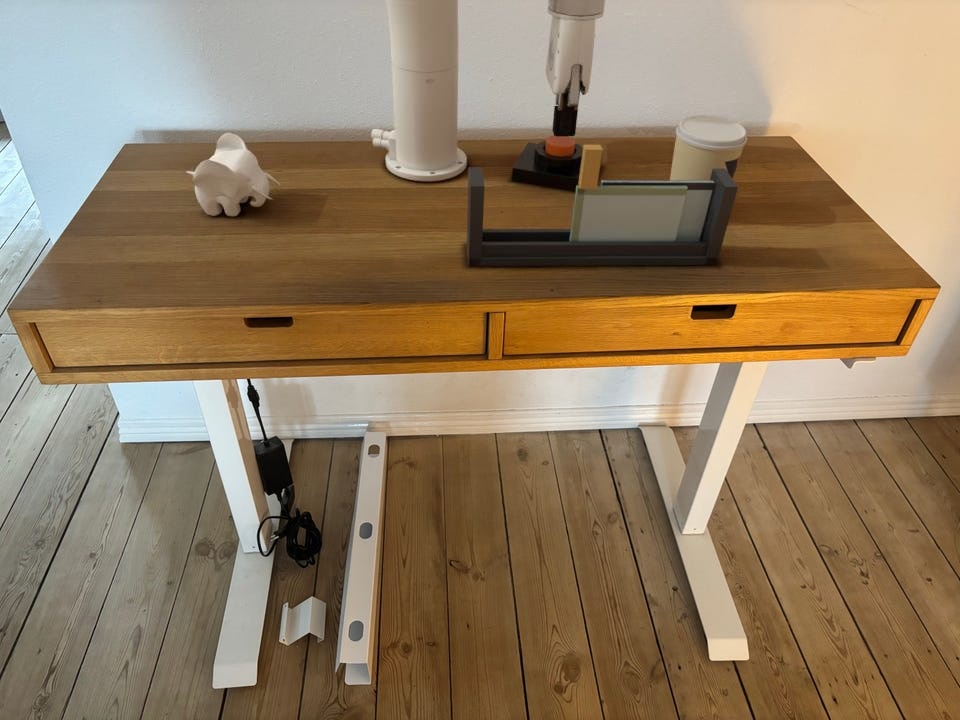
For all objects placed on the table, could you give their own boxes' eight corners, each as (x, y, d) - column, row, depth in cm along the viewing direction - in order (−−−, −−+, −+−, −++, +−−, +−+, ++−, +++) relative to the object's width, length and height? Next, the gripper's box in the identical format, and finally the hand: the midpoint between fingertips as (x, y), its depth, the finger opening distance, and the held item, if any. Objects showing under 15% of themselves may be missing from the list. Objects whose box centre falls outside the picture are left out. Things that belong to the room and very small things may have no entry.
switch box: (511, 181, 111) (513, 156, 108) (527, 155, 118) (528, 131, 116) (589, 194, 108) (593, 169, 106) (600, 166, 116) (604, 142, 113)
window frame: (468, 266, 92) (470, 186, 85) (466, 245, 96) (468, 167, 89) (716, 265, 94) (738, 186, 87) (704, 245, 98) (725, 168, 91)
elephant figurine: (271, 226, 98) (260, 164, 92) (182, 221, 98) (166, 159, 92) (288, 193, 105) (280, 133, 100) (205, 189, 105) (192, 129, 100)
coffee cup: (728, 227, 102) (751, 145, 94) (660, 219, 103) (677, 137, 96) (724, 197, 109) (746, 118, 101) (661, 189, 110) (677, 111, 103)
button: (542, 155, 110) (543, 144, 109) (548, 144, 113) (549, 133, 112) (571, 159, 109) (572, 148, 108) (576, 148, 112) (577, 137, 111)
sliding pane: (569, 250, 93) (582, 149, 84) (568, 244, 94) (581, 144, 85) (674, 250, 94) (698, 150, 85) (671, 244, 95) (694, 145, 86)
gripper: (541, -14, 103) (532, 115, 115) (556, 16, 91) (545, 155, 103) (594, -13, 103) (580, 115, 115) (615, 17, 92) (597, 155, 104)
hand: (563, 133), depth 109 cm, fingers closed
